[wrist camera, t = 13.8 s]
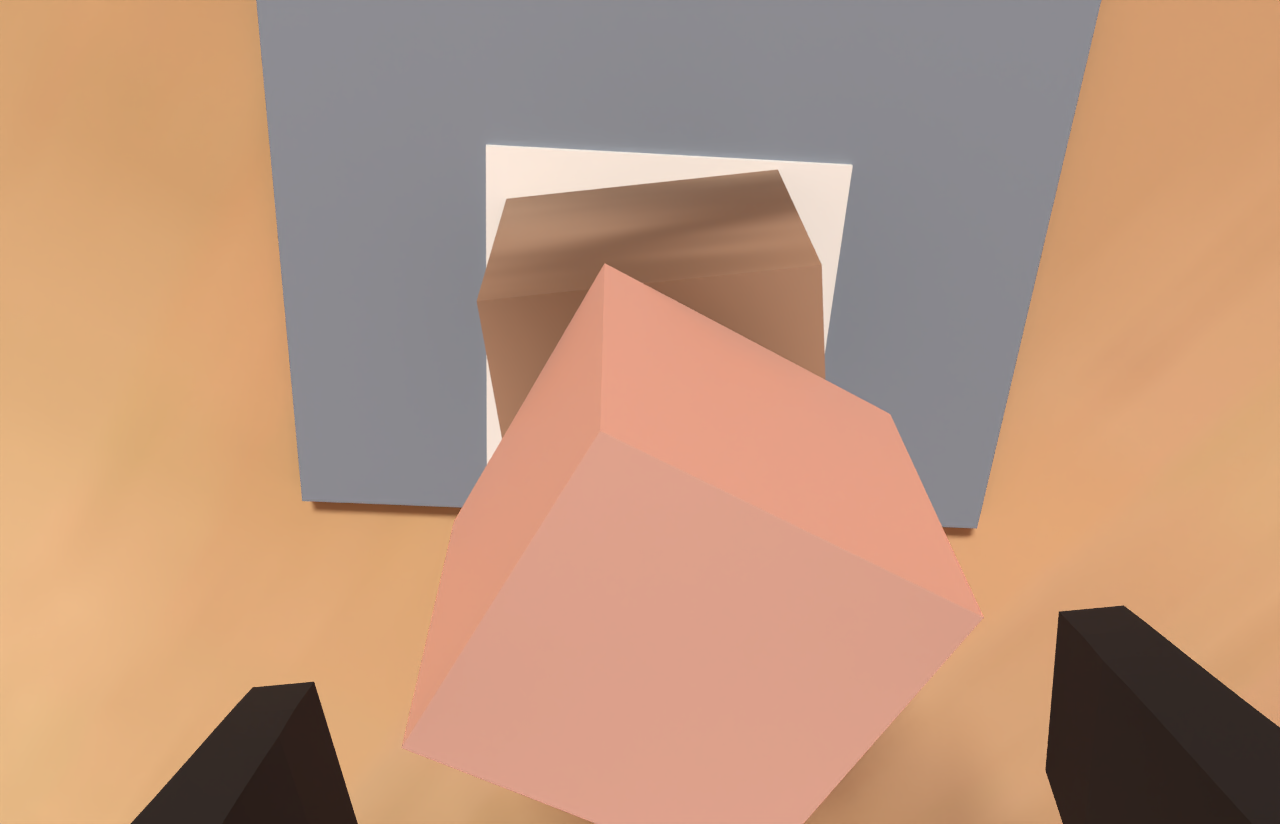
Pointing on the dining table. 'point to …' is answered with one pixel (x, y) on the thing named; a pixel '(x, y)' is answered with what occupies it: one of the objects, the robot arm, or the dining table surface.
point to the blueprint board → (649, 153)
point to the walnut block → (651, 268)
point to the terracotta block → (683, 581)
